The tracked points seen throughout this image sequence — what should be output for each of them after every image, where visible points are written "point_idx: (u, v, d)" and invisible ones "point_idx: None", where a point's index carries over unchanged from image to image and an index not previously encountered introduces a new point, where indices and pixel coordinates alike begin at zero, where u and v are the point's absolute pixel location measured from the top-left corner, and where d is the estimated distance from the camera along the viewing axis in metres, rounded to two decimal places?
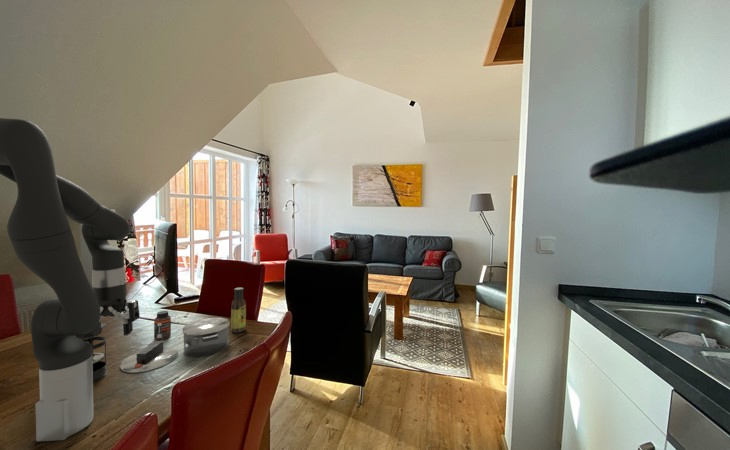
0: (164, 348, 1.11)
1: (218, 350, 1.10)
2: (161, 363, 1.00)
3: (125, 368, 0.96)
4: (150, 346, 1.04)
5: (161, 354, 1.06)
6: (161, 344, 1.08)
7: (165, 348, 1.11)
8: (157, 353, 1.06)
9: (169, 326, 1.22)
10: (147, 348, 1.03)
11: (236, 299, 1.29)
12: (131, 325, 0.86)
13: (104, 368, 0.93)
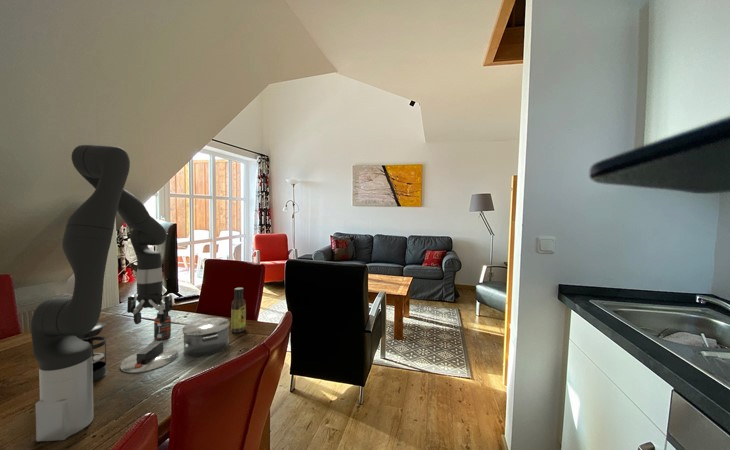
0: (164, 348, 1.11)
1: (218, 350, 1.10)
2: (161, 363, 1.00)
3: (125, 368, 0.96)
4: (150, 346, 1.04)
5: (161, 354, 1.06)
6: (161, 344, 1.08)
7: (165, 348, 1.11)
8: (157, 353, 1.06)
9: (169, 326, 1.22)
10: (147, 348, 1.03)
11: (236, 299, 1.29)
12: (166, 315, 1.04)
13: (104, 368, 0.93)
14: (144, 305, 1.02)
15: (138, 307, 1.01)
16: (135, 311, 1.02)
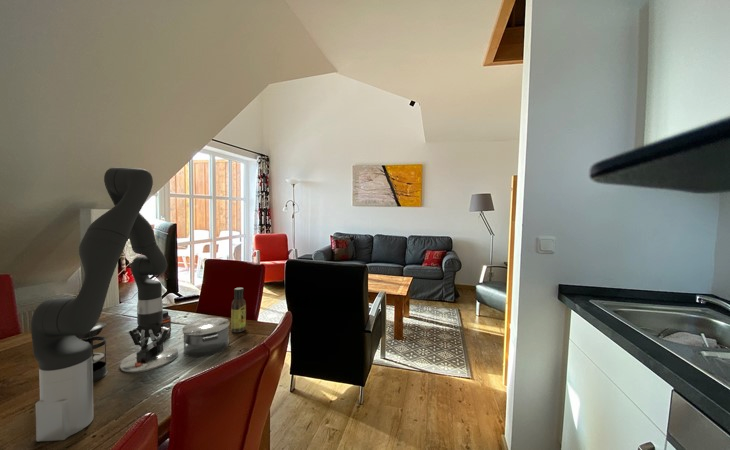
0: (164, 347, 1.11)
1: (218, 350, 1.10)
2: (161, 362, 1.00)
3: (125, 367, 0.96)
4: (150, 345, 1.04)
5: (161, 353, 1.06)
6: None
7: (165, 347, 1.11)
8: None
9: (169, 326, 1.22)
10: (147, 347, 1.03)
11: (236, 299, 1.29)
12: (159, 347, 1.04)
13: (104, 368, 0.93)
14: (147, 334, 1.03)
15: (142, 338, 1.02)
16: (142, 343, 1.02)
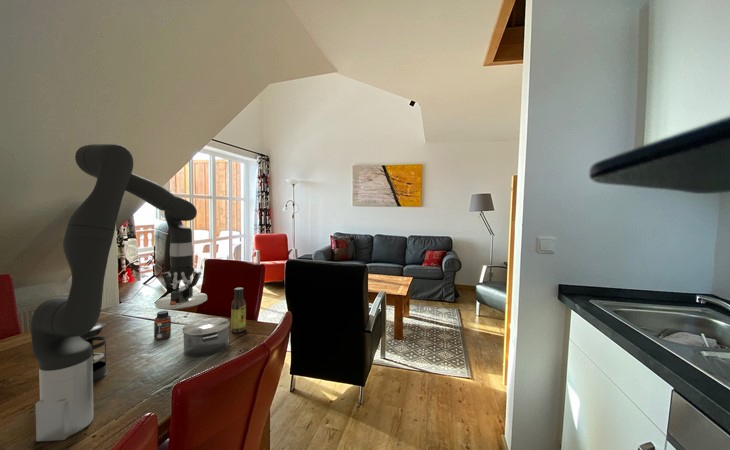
0: (193, 293, 1.17)
1: (218, 350, 1.10)
2: (194, 302, 1.06)
3: (161, 305, 1.02)
4: (181, 288, 1.10)
5: (191, 296, 1.12)
6: (191, 288, 1.13)
7: (194, 293, 1.17)
8: None
9: (169, 326, 1.22)
10: (179, 289, 1.08)
11: (236, 299, 1.29)
12: (190, 290, 1.10)
13: (104, 368, 0.93)
14: (179, 277, 1.08)
15: (175, 280, 1.07)
16: (174, 285, 1.08)
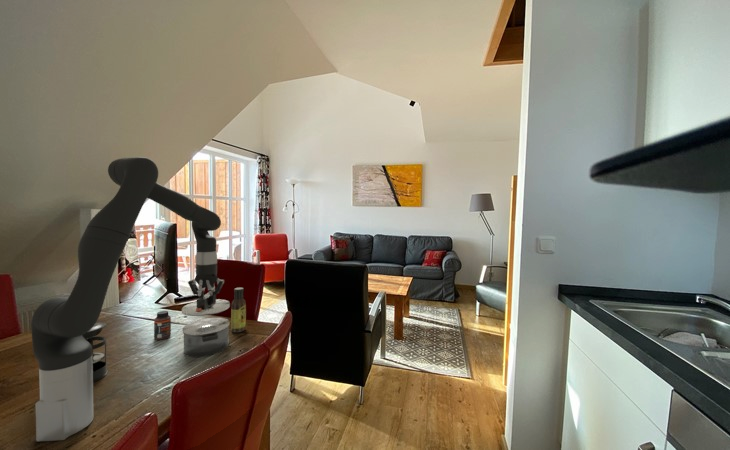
0: (216, 300, 1.21)
1: (218, 350, 1.10)
2: (218, 309, 1.10)
3: (187, 312, 1.06)
4: (206, 295, 1.14)
5: (215, 303, 1.16)
6: None
7: (216, 300, 1.21)
8: None
9: (169, 326, 1.22)
10: (204, 296, 1.13)
11: (236, 299, 1.29)
12: (214, 297, 1.14)
13: (104, 368, 0.93)
14: (204, 284, 1.12)
15: (200, 288, 1.12)
16: (199, 293, 1.12)
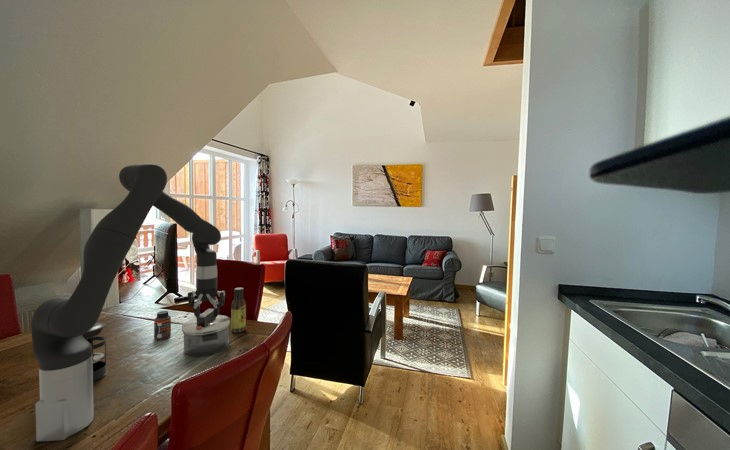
0: None
1: (218, 350, 1.10)
2: (218, 326, 1.10)
3: (187, 330, 1.06)
4: (206, 312, 1.14)
5: (215, 320, 1.16)
6: None
7: None
8: (212, 319, 1.16)
9: (169, 326, 1.22)
10: (204, 313, 1.13)
11: (236, 299, 1.29)
12: (218, 309, 1.15)
13: (104, 368, 0.93)
14: (203, 299, 1.12)
15: (198, 301, 1.12)
16: (195, 305, 1.12)
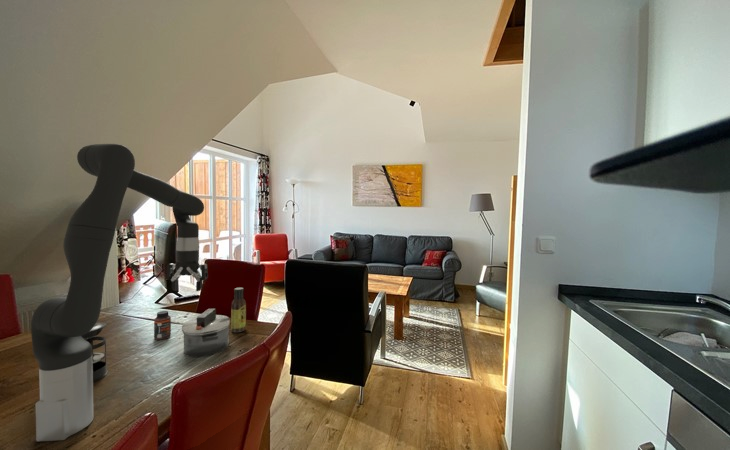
0: (216, 316, 1.21)
1: (218, 350, 1.10)
2: (218, 326, 1.10)
3: (187, 330, 1.06)
4: (206, 312, 1.14)
5: (215, 320, 1.16)
6: (214, 311, 1.18)
7: (216, 316, 1.21)
8: (212, 319, 1.16)
9: (169, 326, 1.22)
10: (204, 313, 1.13)
11: (236, 299, 1.29)
12: (201, 283, 1.09)
13: (104, 368, 0.93)
14: (182, 272, 1.07)
15: (176, 274, 1.06)
16: (173, 278, 1.07)
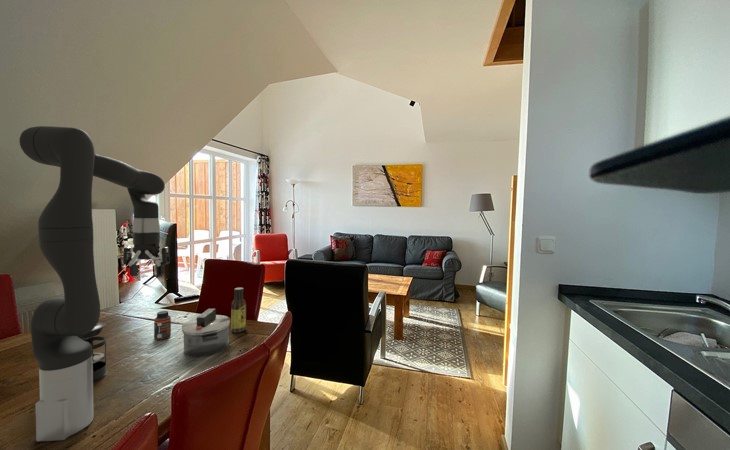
0: (216, 316, 1.21)
1: (218, 350, 1.10)
2: (218, 326, 1.10)
3: (187, 330, 1.06)
4: (206, 312, 1.14)
5: (215, 320, 1.16)
6: (214, 311, 1.18)
7: (216, 316, 1.21)
8: (212, 319, 1.16)
9: (169, 326, 1.22)
10: (204, 313, 1.13)
11: (236, 299, 1.29)
12: (163, 268, 1.01)
13: (104, 368, 0.93)
14: (140, 256, 0.98)
15: (134, 258, 0.98)
16: (131, 262, 0.98)
